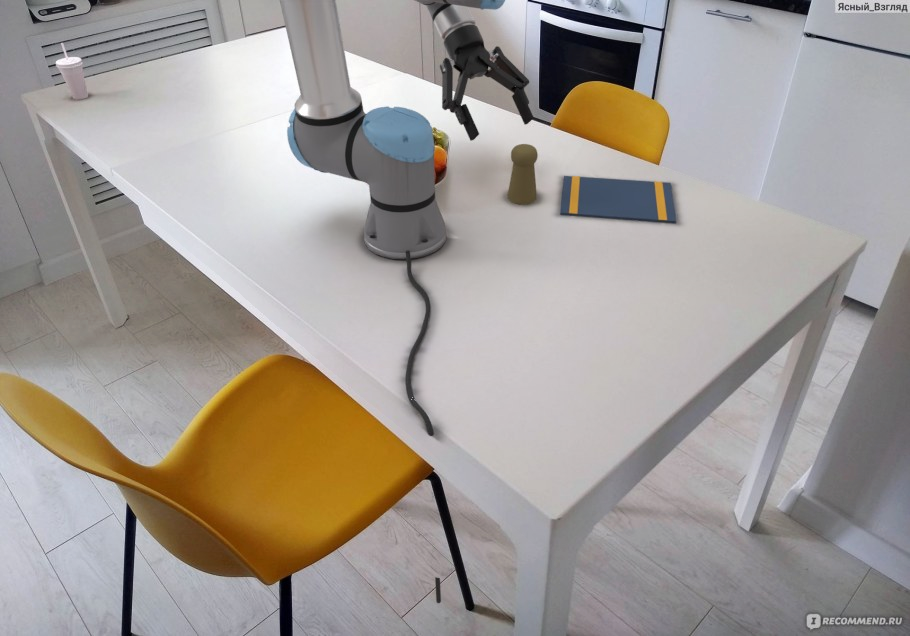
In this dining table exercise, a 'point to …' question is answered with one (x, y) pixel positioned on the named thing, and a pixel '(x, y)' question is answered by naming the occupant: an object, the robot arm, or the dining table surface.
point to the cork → (523, 175)
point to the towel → (617, 199)
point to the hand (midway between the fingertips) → (502, 129)
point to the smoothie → (73, 75)
